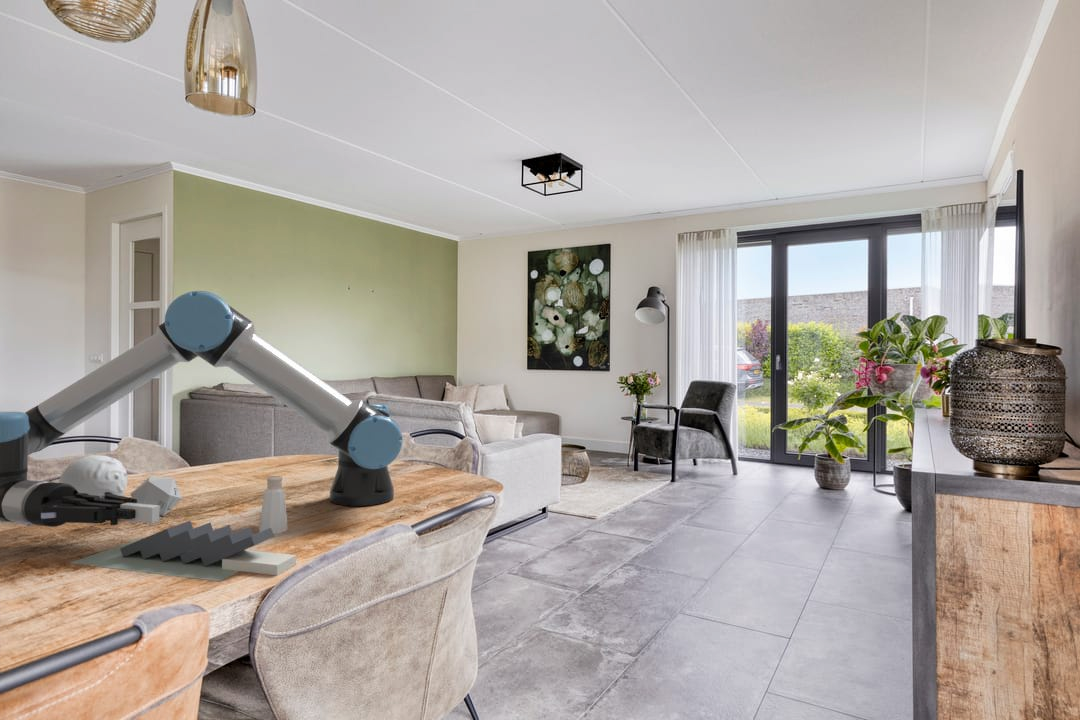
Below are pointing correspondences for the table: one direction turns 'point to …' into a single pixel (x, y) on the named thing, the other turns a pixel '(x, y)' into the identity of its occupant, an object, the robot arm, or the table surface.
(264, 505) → the salt shaker
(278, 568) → the domino
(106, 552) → the felt mat
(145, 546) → the domino
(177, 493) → the die
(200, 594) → the table surface
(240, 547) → the domino
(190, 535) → the domino
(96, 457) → the decorative ball
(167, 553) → the domino
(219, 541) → the domino
